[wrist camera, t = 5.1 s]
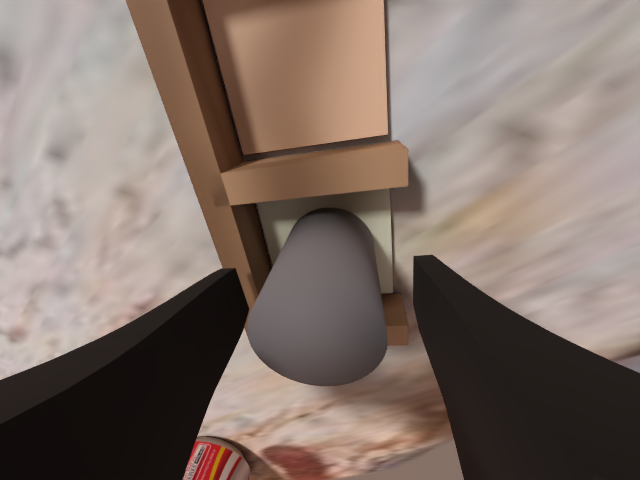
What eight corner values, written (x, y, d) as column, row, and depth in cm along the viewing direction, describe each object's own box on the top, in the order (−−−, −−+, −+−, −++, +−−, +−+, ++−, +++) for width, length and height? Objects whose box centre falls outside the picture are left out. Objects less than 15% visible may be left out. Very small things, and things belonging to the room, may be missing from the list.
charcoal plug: (379, 277, 13) (395, 382, 8) (300, 287, 14) (270, 388, 9) (366, 199, 11) (377, 272, 6) (277, 216, 12) (226, 292, 7)
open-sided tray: (393, -154, 7) (407, -252, 5) (400, 311, 14) (408, 345, 12) (143, -74, 8) (79, -128, 6) (264, 315, 15) (251, 346, 13)
